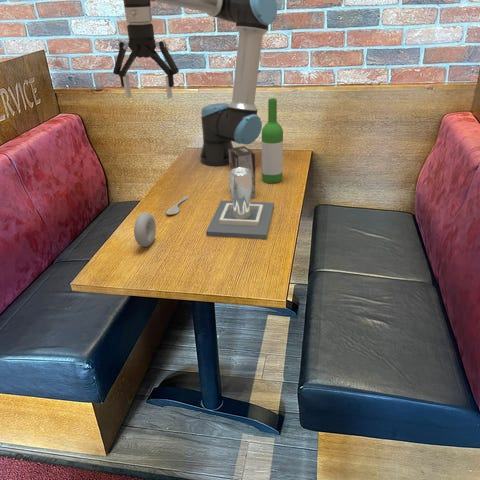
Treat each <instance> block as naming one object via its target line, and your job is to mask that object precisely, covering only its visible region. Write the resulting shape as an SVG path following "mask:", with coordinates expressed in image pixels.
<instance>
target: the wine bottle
mask: <svg viewBox="0 0 480 480" xmlns="http://www.w3.org/2000/svg"><path fill="white" fill-rule="evenodd" d="M277 101H278V100H277V98H268V102H267V103H268V105H267V107H268V109H267V111H268V113H267V120H268V121H267V123H265V125H264V126H262V129H261V178H262V181H263V182H265V183H267V184H277V183H279V182H281V181H282V180H283V171H284V170H283V168H284V165H283V164H284V130H283V127H282V125H281V124H280V123H279V122H278V121H277V120H278V119H277V117H278V115H277V113H278V112H277V111H278V107H277V105H278V104H277V103H278V102H277Z"/></svg>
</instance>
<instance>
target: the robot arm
mask: <svg viewBox="0 0 480 480" xmlns="http://www.w3.org/2000/svg"><path fill="white" fill-rule="evenodd" d="M151 2H156V3H160V4H164V5H169V6H175V7H178V8H179V7H180V8H184V9H188V10H193V11H199V12H202V13H206V15H208V16H209V17H212V18H217V19H220V20H224V21H227V22H230V23H233V24H235V29H236V31H237V32H238V41H237V50H236V58H235V59H236V60H235V69H234V70H235V71H234V79H233V80H234V81H233V90H232V96H231V101H230V102H229V103H227V102H224V103H223V102H222V103H214V104H207V105H205V106H203V107H202V109H201V111H200V112H201V116H200V118H201V128H202V129H201V130H202V140H203V141H202V142H203V143H202V147H201V152H200V163H202V164H203V165H206V166H210V167H211V166H212V167H220V166H221V167H222V166H227V165H228V166H229V149H231V148H235V147H234V146H233V142H234V143H236V144H239V145H240V144H242V145H251V144H252V143H254V142H255V141H256V139H258V138H259V136H260V134H261V133H262V129H263V122H262V120H261V117H260V116H259V115H258V111H259V110H258V107H256V104H255V102H256V101H255V100H256V93H257V85H258V79H259V78H258V77H259V76H258V75H259V68H260V62H261V61H260V60H261V55H262V54H261V53H262V45H263V44H262V43H263V36H264V35H265V34H267V32H268V31H269V25H271V24H272V23H274V20H275V19H276V18H277V15H278V14H277V13H278V3H277V0H123V7H124V8H123V9H124V15H125V21H126V23H128V24H127V25H126V29H127V35H128V37H127V38H128V41H125V40H121V41H119V43H118V49H119V50H118V53H117V57H116V60H115V64H114V67H113V74H114V75H117V76H118V77H119V79H120V83H121V84H120V85H121V87H122V88H124V94H125V99H130V98H132V91H131V84H130V76H129V75H128V74H127V73H128V71H129V69H130V68H131V67H132V64H133V63H134V62H135V60H136V59H137V58H139V59H140V58H146V59H147V58H151V59H152V60H153V61H154V62H155V63H156V64H157V65H158V66H159V67H160V68H161V70H162V71H163V72H164V73H165V74H166V76H165V77H164V79H165V89H166V98H167V99H169V100H170V99H172V98H173V90H172V88H173V87H174V86H175V82H174V79H175V78H174V75H176V74H178V73H179V71H180V70H179V68H178V66H177V64H176V62H175V61H174V58H173V57H172V56H171V54H170V52H169V50H168V48H167V44H166V43H167V42H166V41H165V40H160V41H156V39H155V31H154V25H153V23H152V22H153V13H152V8H151V7H152V4H151ZM128 48H129V49H130V50H131V52H130V54H129V56H128V58H127V60H126V61H125V63H124V59H125V56H126V52H127V50H128ZM156 48H157V49H159V50H160V52H161V54H162V56H163V57H164V59H165V61H166V62H165V61H164V60H163V59H162V57H161V56H159V53H158V52H157V51H156V50H155V49H156ZM123 63H124V64H123ZM122 65H123V66H122Z"/></svg>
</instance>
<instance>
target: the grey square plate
mask: <svg viewBox="0 0 480 480" xmlns="http://www.w3.org/2000/svg"><path fill="white" fill-rule="evenodd" d="M274 207H275V203H274V202H268V201H267V202H266V201H265V202H263V201H262V202H261V201H250V210H251V217H250V218H249V219H246V220H242V219H234V218H233V217H232V213H233V202H232V200H222V199H221V200H220V201H219V203H218V206H217V207H216V210H215V212H214V214H213V217H212V218H211V219H210V220H211V221H210V223H209V225H208V227H207V228H206V231H205V236H207V237H219V238H235V239H237V238H238V239H251V240H252V239H254V240H257V239H258V240H267V238H268V233H269V229H270V225H271V221H272V217H273V213H274V209H275V208H274Z"/></svg>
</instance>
